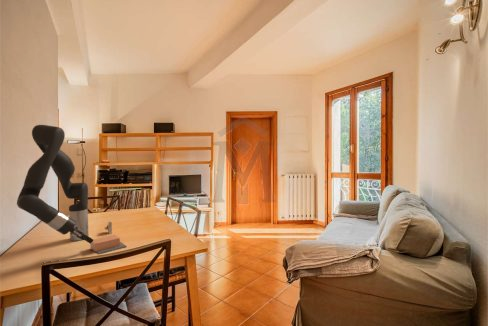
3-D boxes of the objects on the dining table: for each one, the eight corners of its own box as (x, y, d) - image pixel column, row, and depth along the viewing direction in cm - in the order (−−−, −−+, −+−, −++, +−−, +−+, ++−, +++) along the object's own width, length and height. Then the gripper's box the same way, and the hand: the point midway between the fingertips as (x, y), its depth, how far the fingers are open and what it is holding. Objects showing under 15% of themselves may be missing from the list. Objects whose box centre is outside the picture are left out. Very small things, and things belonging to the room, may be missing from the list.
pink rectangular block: (90, 240, 129) (114, 234, 138) (90, 247, 129) (115, 241, 138) (94, 243, 123) (119, 238, 132) (94, 251, 124) (119, 245, 132)
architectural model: (105, 235, 153) (105, 223, 153) (104, 232, 158) (103, 221, 158) (112, 234, 155) (111, 222, 155) (110, 231, 160) (109, 220, 160)
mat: (91, 246, 132) (91, 245, 132) (117, 240, 142) (117, 239, 142) (99, 254, 122) (99, 253, 122) (126, 246, 131) (126, 246, 131)
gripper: (70, 218, 114) (101, 238, 123) (65, 214, 124) (94, 232, 133) (57, 232, 111) (89, 251, 120) (52, 226, 120) (82, 244, 129)
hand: (91, 241), depth 126 cm, fingers closed
